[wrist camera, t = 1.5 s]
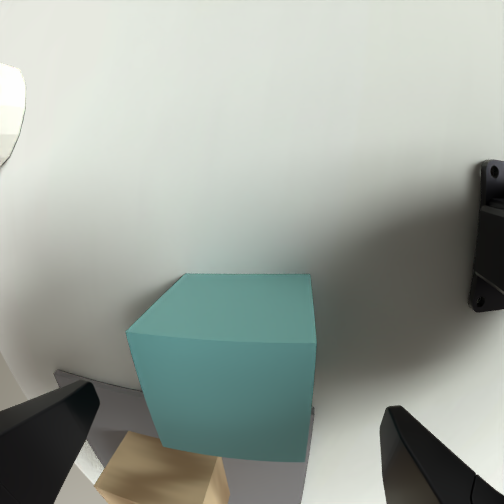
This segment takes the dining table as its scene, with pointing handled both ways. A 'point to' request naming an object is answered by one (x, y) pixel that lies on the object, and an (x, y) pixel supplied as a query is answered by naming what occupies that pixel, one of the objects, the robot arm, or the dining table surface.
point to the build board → (140, 421)
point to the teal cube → (230, 365)
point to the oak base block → (161, 475)
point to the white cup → (10, 108)
